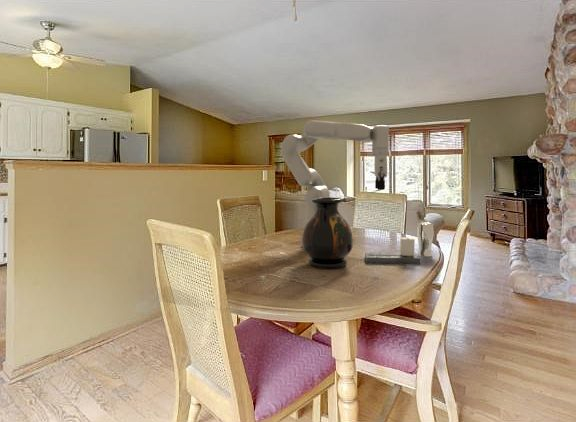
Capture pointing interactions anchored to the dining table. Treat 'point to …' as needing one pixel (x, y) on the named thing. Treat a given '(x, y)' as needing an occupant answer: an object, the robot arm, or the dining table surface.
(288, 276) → the dining table surface
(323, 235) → the dark decorated vase
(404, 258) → the fader console
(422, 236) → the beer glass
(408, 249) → the fader knob
